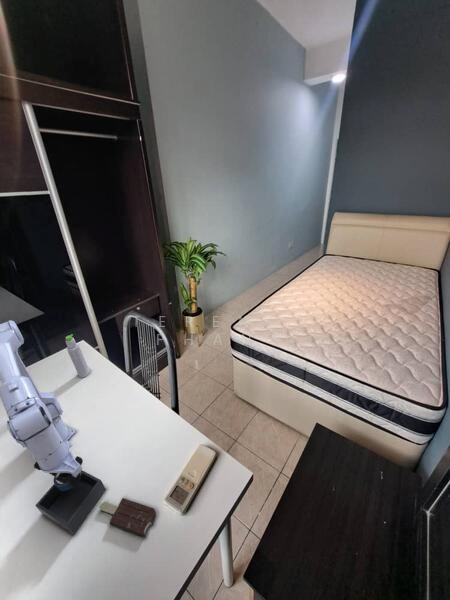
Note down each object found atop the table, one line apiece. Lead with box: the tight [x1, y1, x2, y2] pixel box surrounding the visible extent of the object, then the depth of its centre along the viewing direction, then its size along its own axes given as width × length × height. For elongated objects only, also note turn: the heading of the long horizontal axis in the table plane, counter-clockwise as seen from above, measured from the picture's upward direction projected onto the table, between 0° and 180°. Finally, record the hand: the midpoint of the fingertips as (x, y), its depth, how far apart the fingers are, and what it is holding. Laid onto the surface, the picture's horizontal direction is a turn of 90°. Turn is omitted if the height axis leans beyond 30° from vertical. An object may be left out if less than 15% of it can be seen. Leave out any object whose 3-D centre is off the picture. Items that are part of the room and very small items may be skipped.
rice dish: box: [53, 472, 81, 491], centre depth 63 cm, size 6×6×3 cm
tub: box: [34, 469, 107, 536], centre depth 64 cm, size 11×10×5 cm
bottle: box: [65, 333, 91, 378], centre depth 102 cm, size 4×4×20 cm
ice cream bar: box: [99, 497, 157, 538], centre depth 62 cm, size 5×2×15 cm
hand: (68, 477), depth 63 cm, fingers closed on rice dish, 5 cm apart
